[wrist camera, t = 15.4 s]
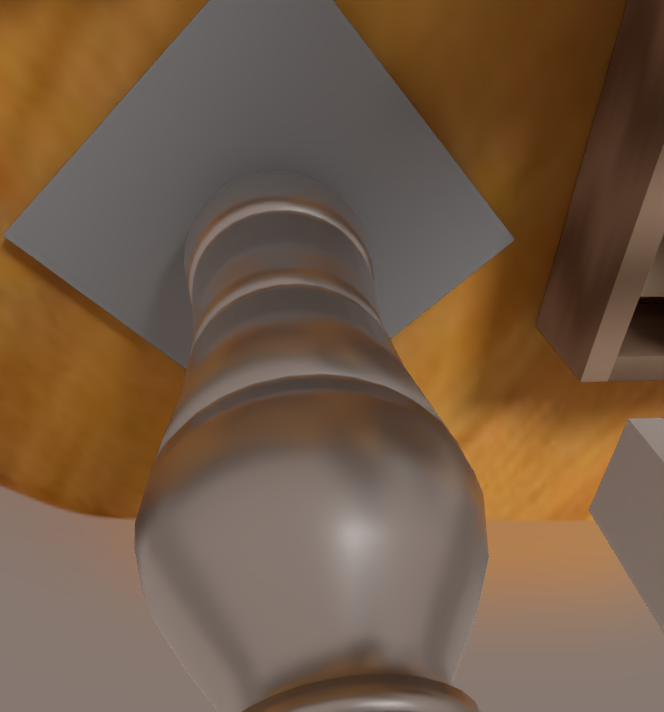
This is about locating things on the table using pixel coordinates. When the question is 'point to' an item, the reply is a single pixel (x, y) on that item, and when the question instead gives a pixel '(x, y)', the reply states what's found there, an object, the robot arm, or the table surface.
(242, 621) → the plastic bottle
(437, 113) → the table surface
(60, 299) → the table surface
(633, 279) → the walnut rack
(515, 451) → the table surface
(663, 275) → the offcut bottom
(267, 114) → the grey mat
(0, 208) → the table surface
